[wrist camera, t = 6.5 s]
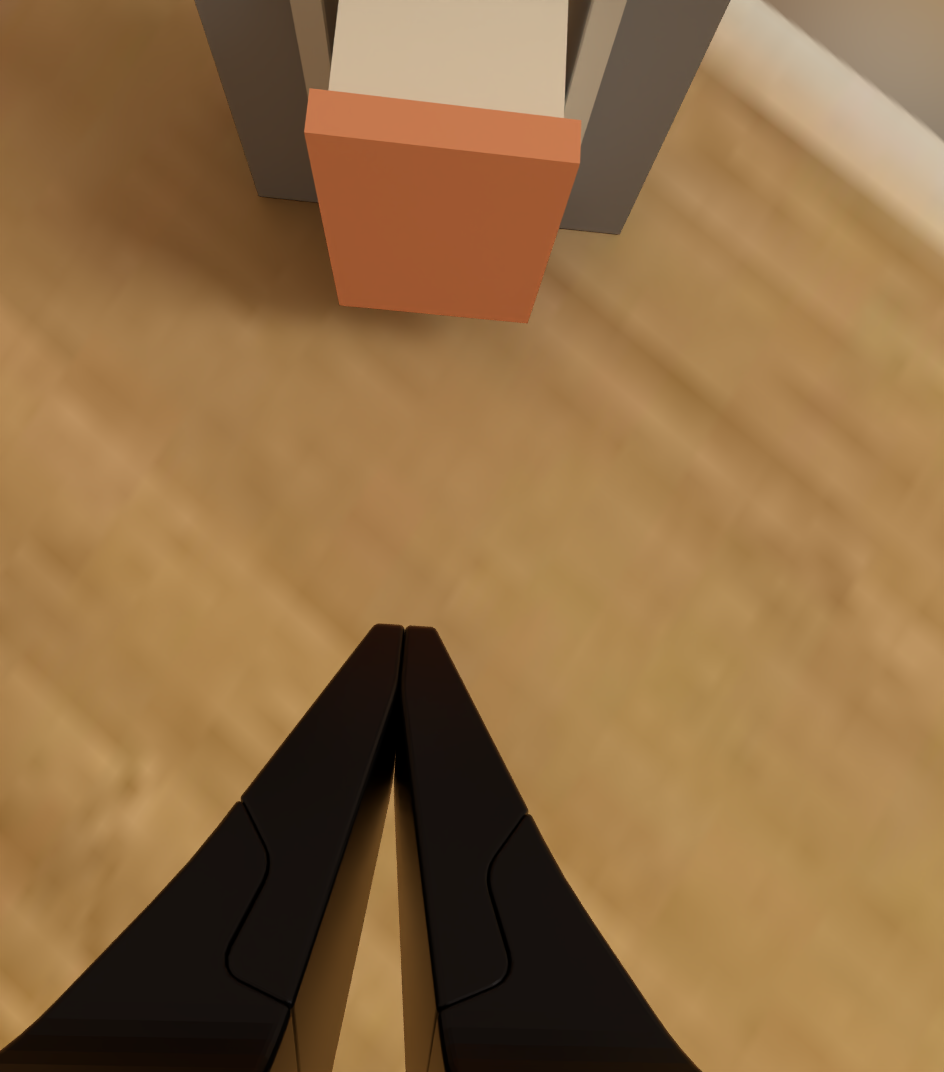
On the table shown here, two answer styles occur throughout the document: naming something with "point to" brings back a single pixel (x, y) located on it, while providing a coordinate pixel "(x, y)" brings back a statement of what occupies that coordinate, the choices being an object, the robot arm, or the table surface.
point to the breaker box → (590, 89)
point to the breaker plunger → (444, 153)
